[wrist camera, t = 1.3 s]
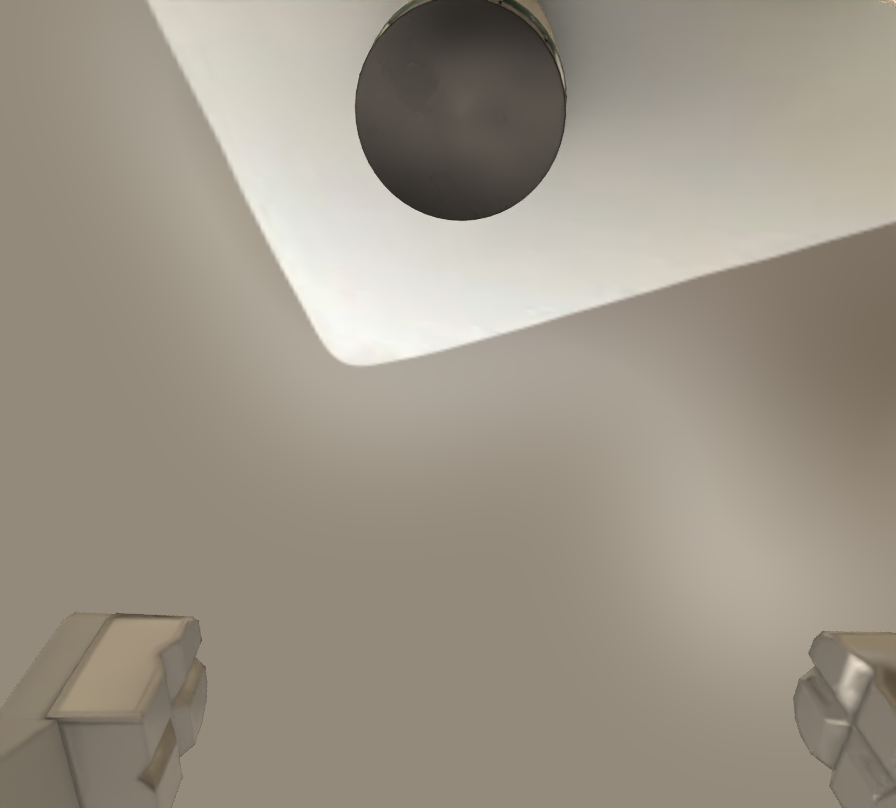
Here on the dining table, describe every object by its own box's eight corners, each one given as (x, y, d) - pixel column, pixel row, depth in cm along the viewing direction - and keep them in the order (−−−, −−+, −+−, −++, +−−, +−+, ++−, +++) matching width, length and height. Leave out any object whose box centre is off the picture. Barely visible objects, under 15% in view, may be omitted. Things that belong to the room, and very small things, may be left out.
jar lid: (327, 51, 26) (315, 60, 25) (518, -53, 24) (519, -50, 22) (418, 231, 31) (413, 249, 29) (589, 159, 28) (594, 174, 26)
